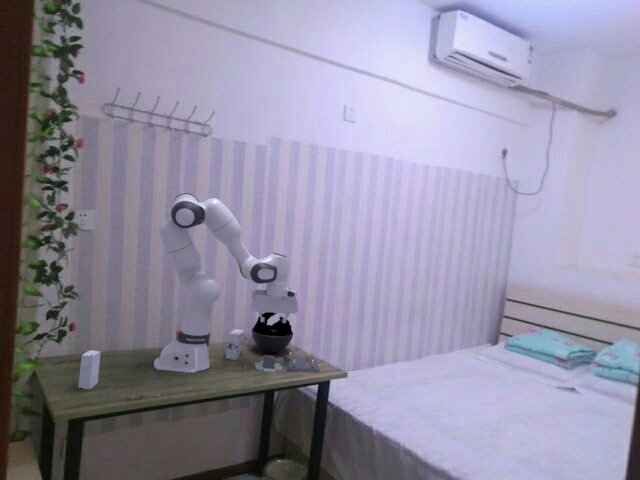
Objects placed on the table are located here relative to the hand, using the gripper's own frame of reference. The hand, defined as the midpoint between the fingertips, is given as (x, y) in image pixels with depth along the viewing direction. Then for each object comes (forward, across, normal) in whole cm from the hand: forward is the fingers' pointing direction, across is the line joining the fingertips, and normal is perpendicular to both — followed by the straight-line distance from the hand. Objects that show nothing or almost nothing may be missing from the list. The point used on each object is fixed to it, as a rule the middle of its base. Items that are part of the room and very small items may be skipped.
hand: (273, 322), depth 212 cm
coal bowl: (+20, +4, +22) cm, 30 cm away
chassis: (+20, +15, +3) cm, 25 cm away
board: (+20, 0, 0) cm, 20 cm away
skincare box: (+20, -67, -26) cm, 75 cm away
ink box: (+20, -14, +12) cm, 27 cm away
